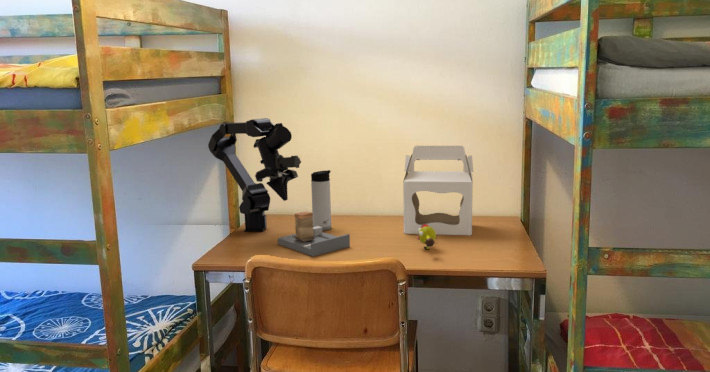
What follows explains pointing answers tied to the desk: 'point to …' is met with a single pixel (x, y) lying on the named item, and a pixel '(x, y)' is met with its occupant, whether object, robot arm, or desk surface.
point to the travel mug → (321, 199)
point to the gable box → (438, 191)
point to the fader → (304, 226)
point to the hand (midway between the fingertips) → (285, 200)
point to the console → (316, 242)
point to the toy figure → (426, 236)
